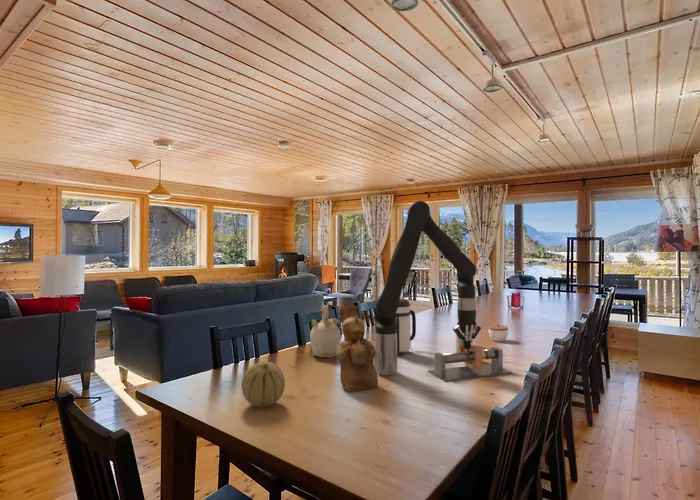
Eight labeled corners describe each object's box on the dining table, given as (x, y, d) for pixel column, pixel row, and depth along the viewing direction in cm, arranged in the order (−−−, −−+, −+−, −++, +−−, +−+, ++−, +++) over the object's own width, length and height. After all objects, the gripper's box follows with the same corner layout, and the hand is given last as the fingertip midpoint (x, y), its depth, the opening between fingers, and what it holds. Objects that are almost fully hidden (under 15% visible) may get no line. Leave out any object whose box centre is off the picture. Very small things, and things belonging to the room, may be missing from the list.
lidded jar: (484, 339, 239) (484, 323, 239) (498, 337, 244) (498, 321, 244) (498, 343, 230) (497, 326, 230) (512, 341, 234) (512, 324, 234)
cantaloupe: (266, 394, 152) (266, 353, 152) (294, 403, 143) (293, 360, 143) (232, 406, 141) (231, 362, 141) (259, 417, 131) (259, 370, 131)
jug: (342, 351, 215) (341, 303, 215) (338, 359, 200) (338, 307, 200) (313, 350, 217) (312, 302, 217) (307, 358, 201) (306, 307, 201)
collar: (476, 370, 172) (476, 347, 172) (464, 365, 180) (464, 342, 180) (482, 369, 173) (482, 346, 173) (470, 364, 181) (470, 342, 181)
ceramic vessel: (343, 395, 151) (342, 312, 151) (330, 377, 172) (329, 304, 172) (384, 390, 155) (383, 310, 155) (366, 373, 176) (365, 303, 176)
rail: (444, 381, 165) (444, 358, 165) (427, 371, 178) (427, 350, 178) (511, 373, 175) (511, 351, 175) (490, 364, 188) (490, 344, 188)
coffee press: (414, 357, 202) (413, 295, 202) (381, 355, 205) (381, 295, 205) (416, 348, 219) (415, 291, 219) (385, 347, 222) (385, 291, 222)
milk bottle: (454, 360, 196) (453, 318, 196) (457, 356, 203) (457, 315, 203) (470, 362, 192) (470, 319, 192) (474, 358, 199) (473, 316, 199)
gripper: (458, 310, 170) (458, 352, 170) (485, 308, 174) (485, 349, 174) (448, 308, 177) (448, 348, 177) (474, 306, 181) (475, 346, 181)
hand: (467, 349), depth 176 cm, fingers closed
